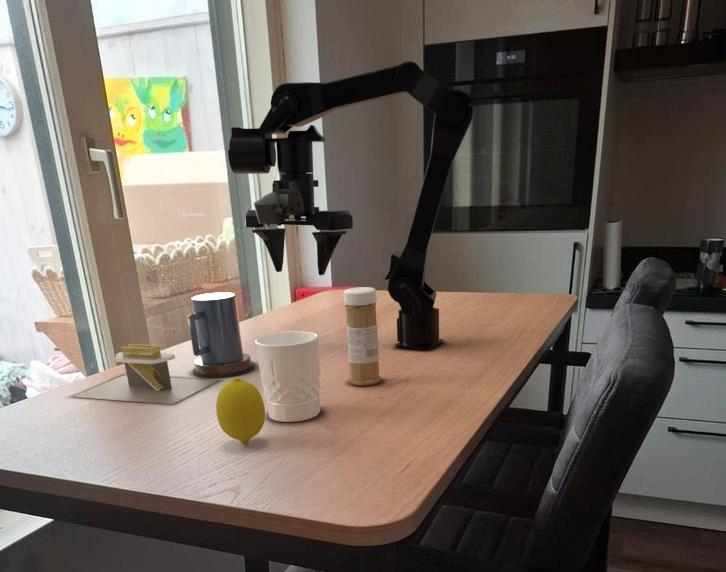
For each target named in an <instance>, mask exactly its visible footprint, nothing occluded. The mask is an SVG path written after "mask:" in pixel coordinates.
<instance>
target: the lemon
mask: <svg viewBox="0 0 726 572" xmlns="http://www.w3.org/2000/svg"><path fill="white" fill-rule="evenodd" d="M215 403H216V404H215V411H216V413H215V414H216V417H217V421H218V424H219V426H220V428H221V431H223V433H224V434H226V435H227V437H229V438H231V439H234V440H238V441H239V442H240V443H241V444H248V443H249V442H250V440H252V438H254V437H256V436H257V435H258V434H259V433H260V432H261V430H262V429H263V427H264V424H265V420H266V409H265V408H266V407H265V402H264V399H263V397H262V394H261V392H260V391H259V389H258V388H257V387H256V386H255V385H254V384H253V383H252V382H250V381H248V380H244V379H241V378H240V377H239V376H234V377H233V378H232V380H230V381H228V382H226V383H225V384H224V385H223V386H222V387H221V388H220V390H219V391H218V394H217V398H216V402H215Z"/></svg>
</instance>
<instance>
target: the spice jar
mask: <svg viewBox="0 0 726 572" xmlns="http://www.w3.org/2000/svg"><path fill="white" fill-rule="evenodd" d="M376 302H377V290H376V288H374V287H370V286H360V287H351V288H347V289H345V290H344V291H343V304H344V307H345V317H346V337H347V338H346V340H347V352H348V353H347V354H348V362H349V374H350V376H349V382H350V384H352V385H355V386H372V385H373V386H374V385H375V384H378V383H379V382H380V381H381V377H380V366H379V365H380V364H379V360H380V353H379V336H378V335H379V331H378V321H377V308H376V306H377V303H376Z"/></svg>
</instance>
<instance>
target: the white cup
mask: <svg viewBox="0 0 726 572" xmlns="http://www.w3.org/2000/svg"><path fill="white" fill-rule="evenodd" d="M254 344H255V350H256V351H255V352H256V356H257V363H258V368H259V374H260V378H261V379H260V380H261V384H262V385H261V386H262V389H263V395H264V398H265V402H266V408H267V409H266V410H267V414H268V416H269V419H270V420H273V421H274V422H275V421H276V422H282V423H294V422H295V423H296V422H303V421H306V420H310V419H313V418H315V417H317V416H318V415H319V413H320V412H321V399H320V389H321V382H320V377H321V376H320V375H321V373H320V350H319V335H318V334H317V333H316V332H311V331H301V330H293V331H292V330H291V331H280V332H274V333H269V334H265V335H261V336H259V337H257V338H256V339H255V340H254Z"/></svg>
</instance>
